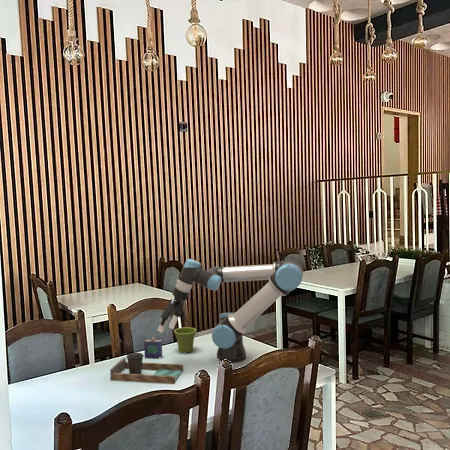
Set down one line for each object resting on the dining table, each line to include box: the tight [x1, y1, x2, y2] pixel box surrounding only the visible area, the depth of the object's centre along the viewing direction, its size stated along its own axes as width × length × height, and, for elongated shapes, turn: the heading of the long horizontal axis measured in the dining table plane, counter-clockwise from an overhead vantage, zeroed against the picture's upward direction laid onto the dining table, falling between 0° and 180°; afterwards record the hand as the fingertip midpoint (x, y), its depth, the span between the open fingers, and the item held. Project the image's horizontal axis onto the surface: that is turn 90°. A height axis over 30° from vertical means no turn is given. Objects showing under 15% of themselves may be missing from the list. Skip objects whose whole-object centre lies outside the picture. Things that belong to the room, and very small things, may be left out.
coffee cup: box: [125, 352, 145, 374], centre depth 233 cm, size 8×8×10 cm
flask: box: [143, 336, 163, 359], centre depth 256 cm, size 9×3×11 cm, turn 88°
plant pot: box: [173, 326, 197, 353], centre depth 266 cm, size 12×12×11 cm
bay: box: [109, 357, 184, 385], centre depth 232 cm, size 30×16×5 cm, turn 80°
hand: (165, 329), depth 243 cm, fingers open, 13 cm apart
